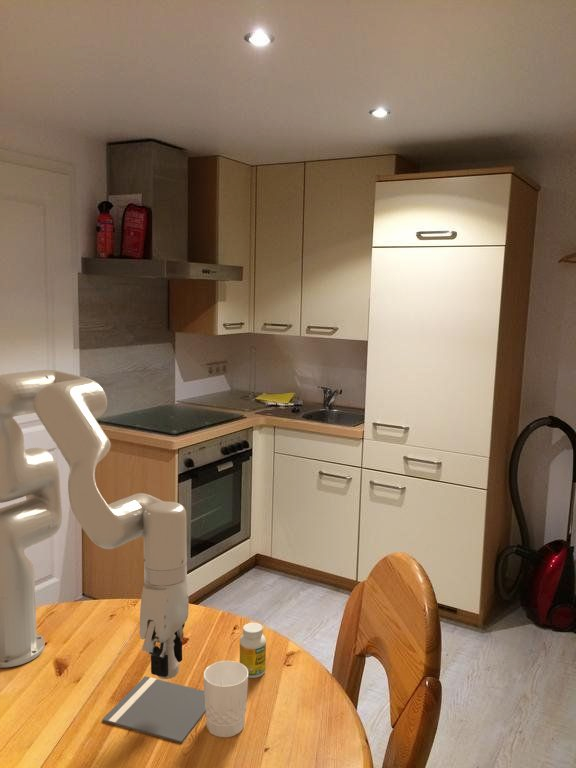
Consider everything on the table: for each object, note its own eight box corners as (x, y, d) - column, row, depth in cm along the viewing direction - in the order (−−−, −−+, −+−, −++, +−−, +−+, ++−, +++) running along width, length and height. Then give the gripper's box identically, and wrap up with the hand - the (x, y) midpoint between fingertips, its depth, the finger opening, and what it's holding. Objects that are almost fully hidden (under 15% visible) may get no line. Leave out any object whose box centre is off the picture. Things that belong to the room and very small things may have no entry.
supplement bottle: (248, 661, 134) (248, 618, 133) (270, 668, 132) (271, 624, 131) (234, 674, 130) (234, 629, 128) (256, 682, 127) (257, 636, 126)
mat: (102, 721, 115) (102, 718, 115) (144, 678, 128) (144, 675, 128) (181, 743, 109) (181, 740, 109) (217, 696, 122) (217, 693, 122)
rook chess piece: (174, 681, 115) (173, 639, 113) (150, 678, 115) (149, 636, 114) (183, 667, 119) (182, 627, 118) (160, 664, 120) (159, 624, 119)
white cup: (207, 743, 109) (207, 689, 108) (200, 714, 117) (200, 663, 116) (252, 735, 112) (252, 682, 110) (242, 707, 119) (243, 657, 118)
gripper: (171, 551, 124) (172, 640, 126) (120, 588, 108) (122, 689, 110) (205, 557, 121) (206, 648, 124) (159, 595, 105) (160, 698, 108)
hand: (166, 666), depth 117 cm, fingers closed on rook chess piece, 4 cm apart
